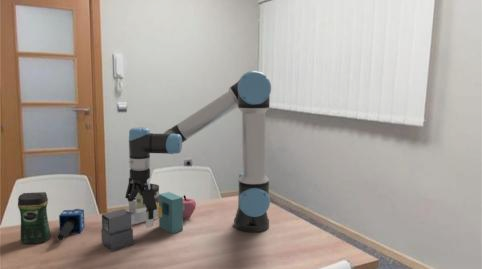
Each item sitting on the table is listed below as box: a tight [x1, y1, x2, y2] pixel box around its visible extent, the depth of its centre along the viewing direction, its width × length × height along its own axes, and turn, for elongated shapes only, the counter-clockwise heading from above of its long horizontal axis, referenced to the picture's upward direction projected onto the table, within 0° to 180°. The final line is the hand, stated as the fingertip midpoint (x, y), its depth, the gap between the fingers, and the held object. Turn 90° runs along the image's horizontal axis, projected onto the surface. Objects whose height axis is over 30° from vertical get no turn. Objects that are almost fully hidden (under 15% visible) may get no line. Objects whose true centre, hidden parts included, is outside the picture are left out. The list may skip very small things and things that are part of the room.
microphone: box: [56, 208, 85, 241], centre depth 145 cm, size 8×8×25 cm
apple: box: [182, 194, 197, 220], centre depth 163 cm, size 10×9×10 cm
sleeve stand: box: [100, 208, 134, 253], centre depth 135 cm, size 8×8×12 cm
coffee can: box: [135, 183, 160, 221], centre depth 163 cm, size 10×10×14 cm
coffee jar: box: [17, 191, 51, 245], centre depth 137 cm, size 10×8×19 cm
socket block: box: [158, 191, 184, 234], centre depth 151 cm, size 10×5×14 cm, turn 44°
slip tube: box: [103, 205, 162, 231], centre depth 139 cm, size 4×22×4 cm, turn 134°
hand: (140, 221), depth 141 cm, fingers open, 13 cm apart
